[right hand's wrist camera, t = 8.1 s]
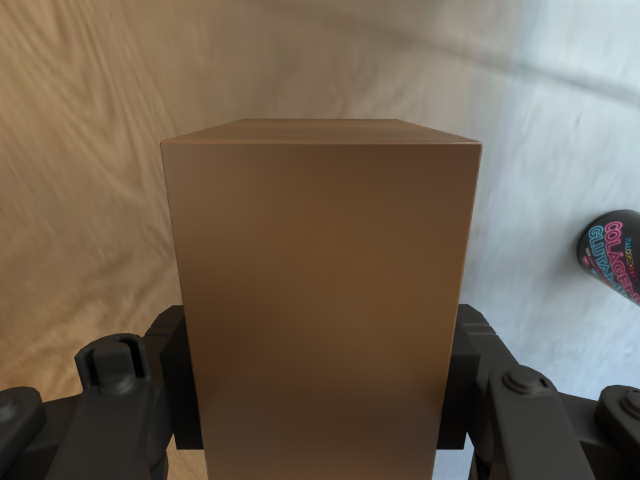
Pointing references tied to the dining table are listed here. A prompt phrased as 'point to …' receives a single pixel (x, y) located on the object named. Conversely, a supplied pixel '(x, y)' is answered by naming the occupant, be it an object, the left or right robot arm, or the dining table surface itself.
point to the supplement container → (613, 252)
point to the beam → (320, 291)
